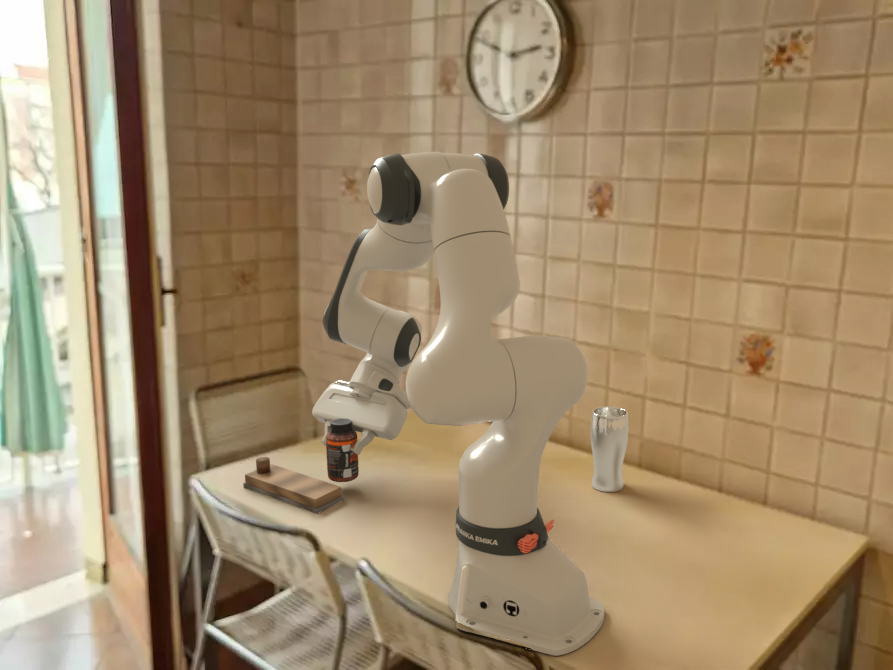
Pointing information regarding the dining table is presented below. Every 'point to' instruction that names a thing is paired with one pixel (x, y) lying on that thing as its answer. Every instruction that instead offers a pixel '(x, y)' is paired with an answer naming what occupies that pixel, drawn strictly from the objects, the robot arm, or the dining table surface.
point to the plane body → (292, 487)
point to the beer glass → (608, 447)
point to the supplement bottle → (341, 451)
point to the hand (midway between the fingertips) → (339, 448)
